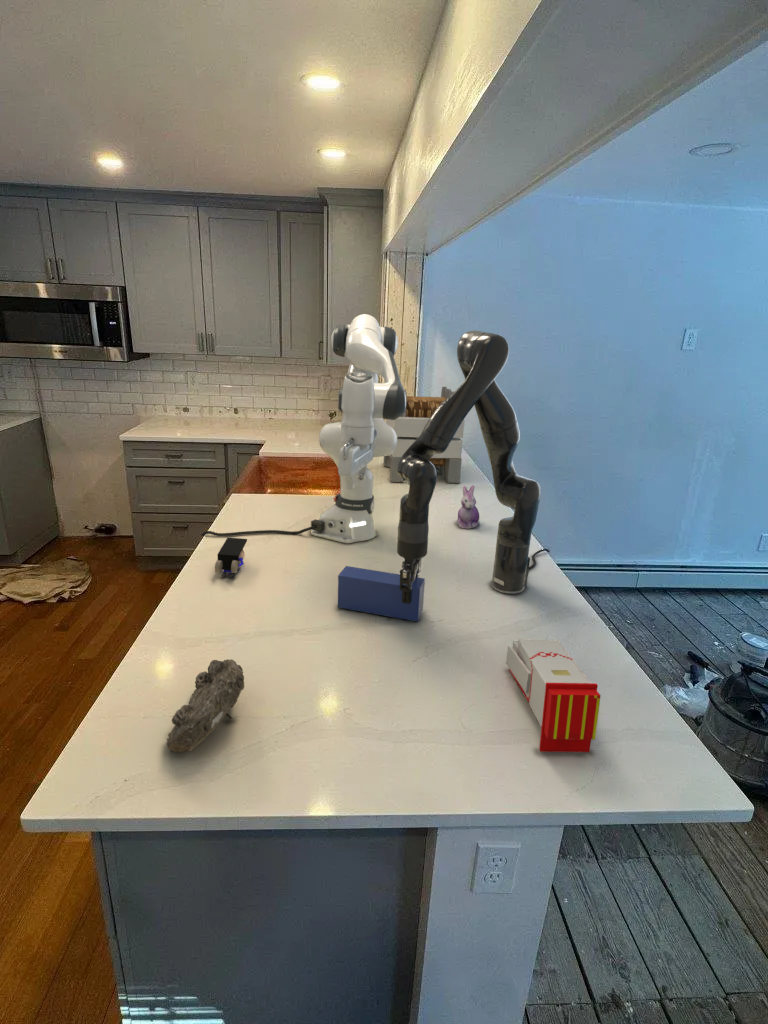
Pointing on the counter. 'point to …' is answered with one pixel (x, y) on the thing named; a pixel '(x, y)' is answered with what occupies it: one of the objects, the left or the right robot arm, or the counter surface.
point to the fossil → (206, 705)
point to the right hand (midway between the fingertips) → (409, 596)
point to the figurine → (468, 510)
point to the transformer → (411, 429)
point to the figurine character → (230, 556)
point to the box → (378, 593)
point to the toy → (556, 694)
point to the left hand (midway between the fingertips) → (356, 484)
